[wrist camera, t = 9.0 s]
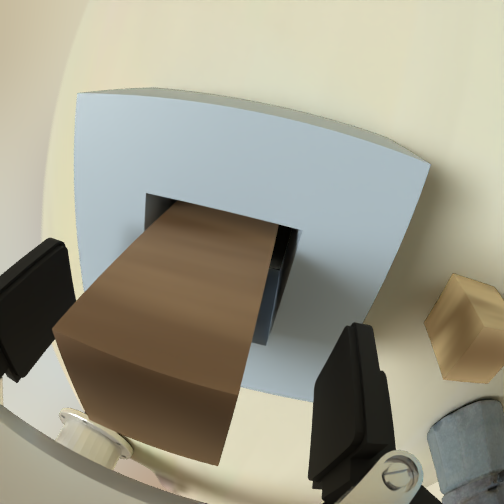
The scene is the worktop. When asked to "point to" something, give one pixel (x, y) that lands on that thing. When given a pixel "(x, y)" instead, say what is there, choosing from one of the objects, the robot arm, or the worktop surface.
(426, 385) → the worktop surface
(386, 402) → the robot arm
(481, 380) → the oak peg short
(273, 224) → the walnut peg long
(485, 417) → the moka pot
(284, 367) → the socket block
